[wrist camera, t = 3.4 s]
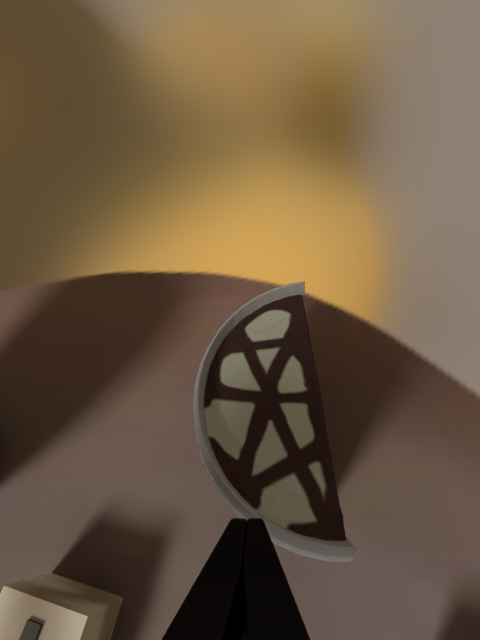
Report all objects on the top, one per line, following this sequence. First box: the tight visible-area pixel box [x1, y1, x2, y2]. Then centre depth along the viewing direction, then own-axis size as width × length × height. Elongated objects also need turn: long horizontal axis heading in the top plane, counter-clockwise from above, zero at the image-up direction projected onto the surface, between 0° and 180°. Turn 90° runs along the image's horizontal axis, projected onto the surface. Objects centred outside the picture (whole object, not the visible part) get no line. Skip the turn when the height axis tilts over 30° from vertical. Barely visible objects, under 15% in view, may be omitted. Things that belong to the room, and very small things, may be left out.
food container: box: [193, 281, 356, 562], centre depth 18 cm, size 12×6×10 cm, turn 3°
